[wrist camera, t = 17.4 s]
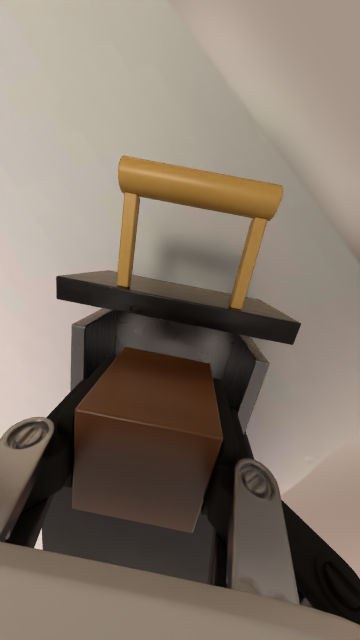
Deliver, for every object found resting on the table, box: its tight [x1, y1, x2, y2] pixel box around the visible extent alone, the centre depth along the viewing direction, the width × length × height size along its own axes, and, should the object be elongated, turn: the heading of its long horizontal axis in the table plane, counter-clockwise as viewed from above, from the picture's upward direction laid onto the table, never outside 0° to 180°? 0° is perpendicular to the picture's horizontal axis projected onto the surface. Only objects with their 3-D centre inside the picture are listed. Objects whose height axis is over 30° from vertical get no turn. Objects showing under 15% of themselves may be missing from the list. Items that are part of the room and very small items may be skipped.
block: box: [72, 347, 223, 533], centre depth 8 cm, size 4×4×4 cm
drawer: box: [56, 156, 301, 434], centre depth 14 cm, size 20×12×6 cm, turn 170°
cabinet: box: [42, 431, 254, 584], centre depth 18 cm, size 16×14×8 cm
